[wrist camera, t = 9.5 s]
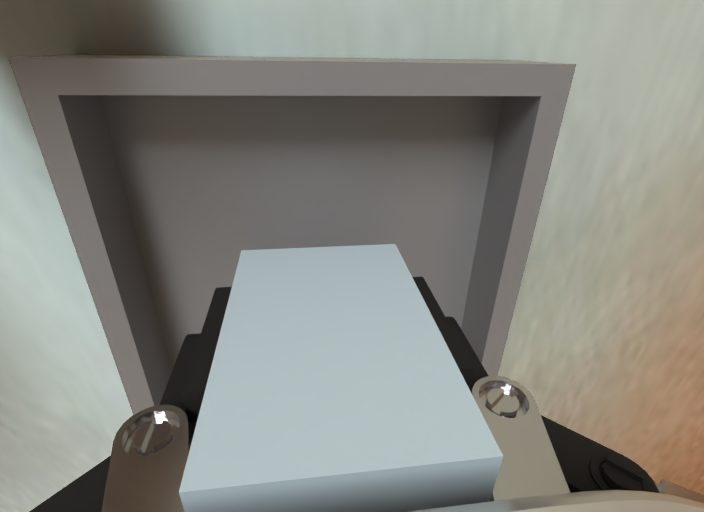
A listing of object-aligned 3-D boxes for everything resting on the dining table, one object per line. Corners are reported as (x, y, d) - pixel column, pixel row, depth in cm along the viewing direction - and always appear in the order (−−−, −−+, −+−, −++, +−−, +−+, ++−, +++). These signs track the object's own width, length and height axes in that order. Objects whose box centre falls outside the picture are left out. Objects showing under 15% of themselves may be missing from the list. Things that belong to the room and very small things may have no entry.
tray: (520, 60, 13) (576, 64, 11) (460, 371, 20) (485, 421, 17) (72, 54, 12) (8, 57, 9) (168, 395, 18) (147, 454, 16)
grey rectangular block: (395, 243, 12) (506, 462, 6) (386, 358, 14) (460, 609, 8) (241, 250, 11) (176, 499, 5) (256, 368, 13) (223, 647, 7)
